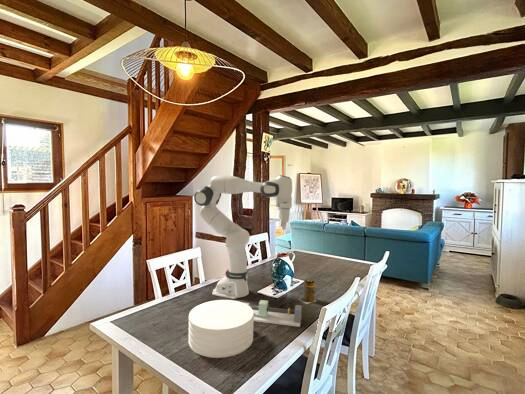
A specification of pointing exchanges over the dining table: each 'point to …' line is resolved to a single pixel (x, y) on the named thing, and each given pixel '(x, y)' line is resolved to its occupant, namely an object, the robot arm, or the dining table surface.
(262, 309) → the pale green block
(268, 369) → the dining table surface
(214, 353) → the plate stack
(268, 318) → the white slider rail
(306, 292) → the condiment
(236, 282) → the robot arm
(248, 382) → the dining table surface
